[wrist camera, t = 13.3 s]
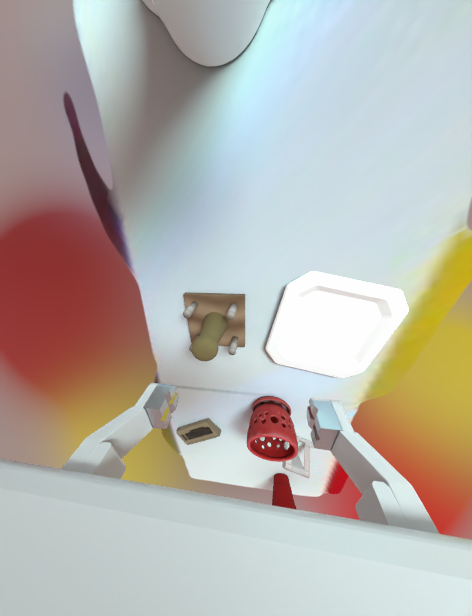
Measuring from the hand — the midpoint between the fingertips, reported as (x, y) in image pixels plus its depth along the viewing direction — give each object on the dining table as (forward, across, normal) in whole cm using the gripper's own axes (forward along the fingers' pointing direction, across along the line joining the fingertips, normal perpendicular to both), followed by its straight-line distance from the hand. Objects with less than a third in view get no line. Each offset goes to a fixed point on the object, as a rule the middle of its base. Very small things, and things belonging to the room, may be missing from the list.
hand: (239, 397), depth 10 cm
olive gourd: (+28, +9, +12) cm, 32 cm away
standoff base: (+29, +9, +12) cm, 33 cm away
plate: (+30, -17, +13) cm, 37 cm away
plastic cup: (+29, -14, +89) cm, 95 cm away
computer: (+30, +20, +61) cm, 70 cm away
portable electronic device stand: (+29, -16, +61) cm, 70 cm away
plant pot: (+29, -6, +43) cm, 52 cm away
